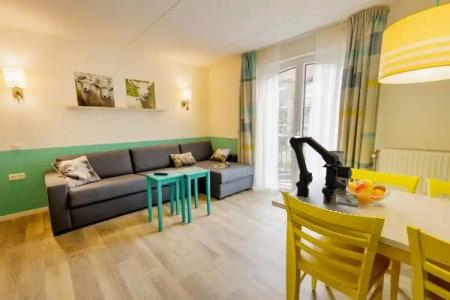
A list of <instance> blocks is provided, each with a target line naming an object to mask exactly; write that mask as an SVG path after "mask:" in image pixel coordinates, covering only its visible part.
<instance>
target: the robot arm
mask: <svg viewBox="0 0 450 300" xmlns="http://www.w3.org/2000/svg"><path fill="white" fill-rule="evenodd" d="M288 142H289V145H290V146H291V148H292V149H293V151H294V155H295V157H296V162H297V166H298V170H299V174H298V175H299V176H298V179H299V180H298V181H297V182H296V183H295V186H296V187H297V190H296V195H295V196H299V197H303V198H304V197H305V198H307V197H308V196H309V194H310V188H309V186H310V185H311V184H312V182H313V179H314V177H313V173H312V172H310V171H308V167H307V163H306V159H305V155H304V152H303V146H304V144H307V145H308V146H309V147H310V148H311V149H313V150H314V151H315V152H317V154H318V155H320V156H321V159H322V160H323V161H324V163H325V164H324V165H322V166H321V167H322V168H325V177H324V179H325V182H324V186H323V187H322V189H321V193H322V194H323V198H324V197H325V199H326V201H327V203H330V199H331V196H332V195H334V194H336V192H335V189H337V187H338V188H340V189H342V190H345V188H346V187H347V183H346V180H340V181H339V180H337V176H338V177H341V178H347V179H349V180H351V178H352V175H353V170H352V166H345V165H344V166H343V165H342V163H341V162H340V160H339V157H338V156H337V155H336V154H334V153H332V152H330V151H331V150H328V149H326V148H325V147H324V146H323V145H321V144H320V143H319V142H317V141H316V140H315V139H314V138H313V137H312V136H311V135H310V136H309V135H307V136H299V135H298V136H292V137H290V139H289V141H288Z"/></svg>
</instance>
